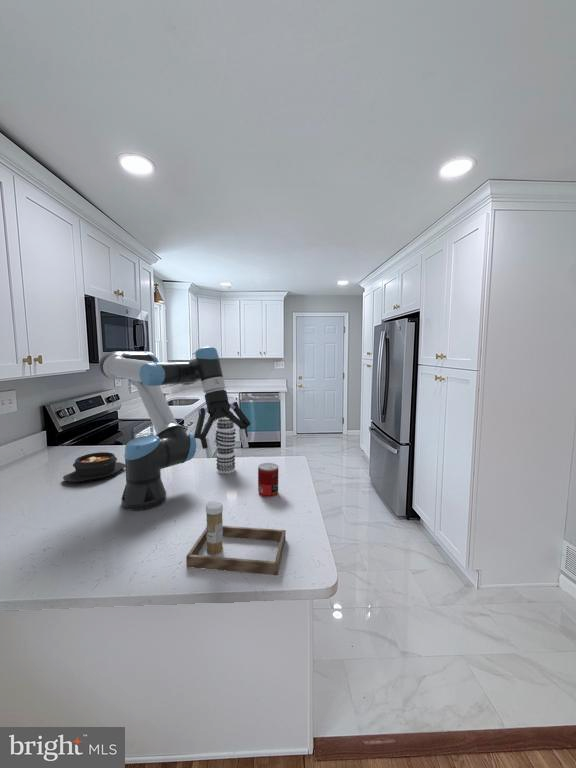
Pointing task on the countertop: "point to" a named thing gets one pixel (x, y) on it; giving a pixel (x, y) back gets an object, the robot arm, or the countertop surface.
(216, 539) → the sprinkles bottle
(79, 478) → the casserole
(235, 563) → the frame
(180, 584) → the countertop surface
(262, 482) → the canned food
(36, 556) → the countertop surface
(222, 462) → the decorative candle
